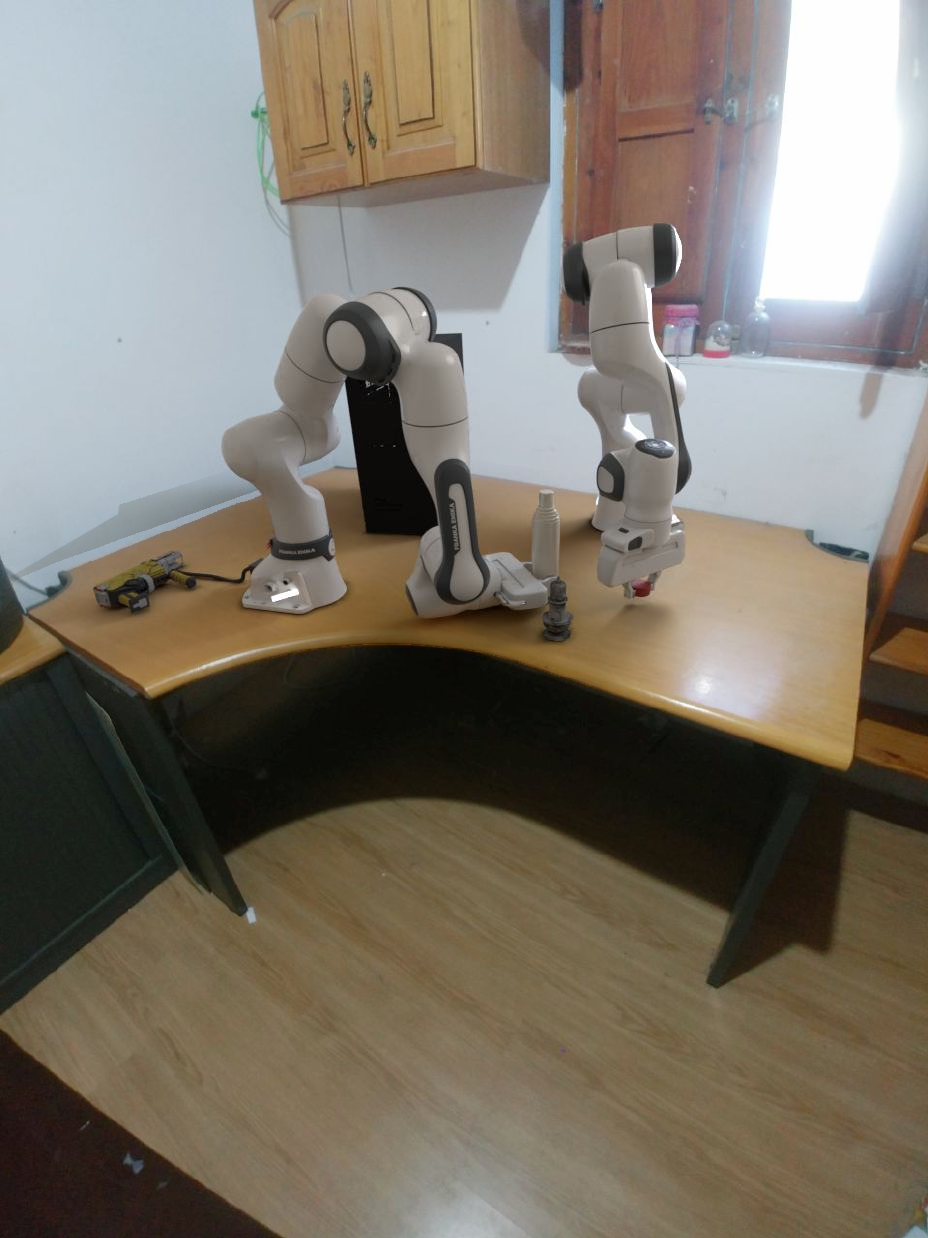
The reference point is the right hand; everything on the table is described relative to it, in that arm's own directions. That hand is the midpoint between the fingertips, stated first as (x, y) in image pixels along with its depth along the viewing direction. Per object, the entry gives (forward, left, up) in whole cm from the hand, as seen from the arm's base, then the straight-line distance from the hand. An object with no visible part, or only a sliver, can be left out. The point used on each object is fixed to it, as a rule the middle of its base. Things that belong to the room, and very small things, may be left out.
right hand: (639, 593), depth 121 cm
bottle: (+15, -12, -2) cm, 19 cm away
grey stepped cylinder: (+21, +2, -2) cm, 21 cm away
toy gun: (+89, -59, -2) cm, 106 cm away
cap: (0, 0, +2) cm, 2 cm away
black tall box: (+18, -76, -2) cm, 78 cm away
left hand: (+14, -12, +3) cm, 19 cm away
